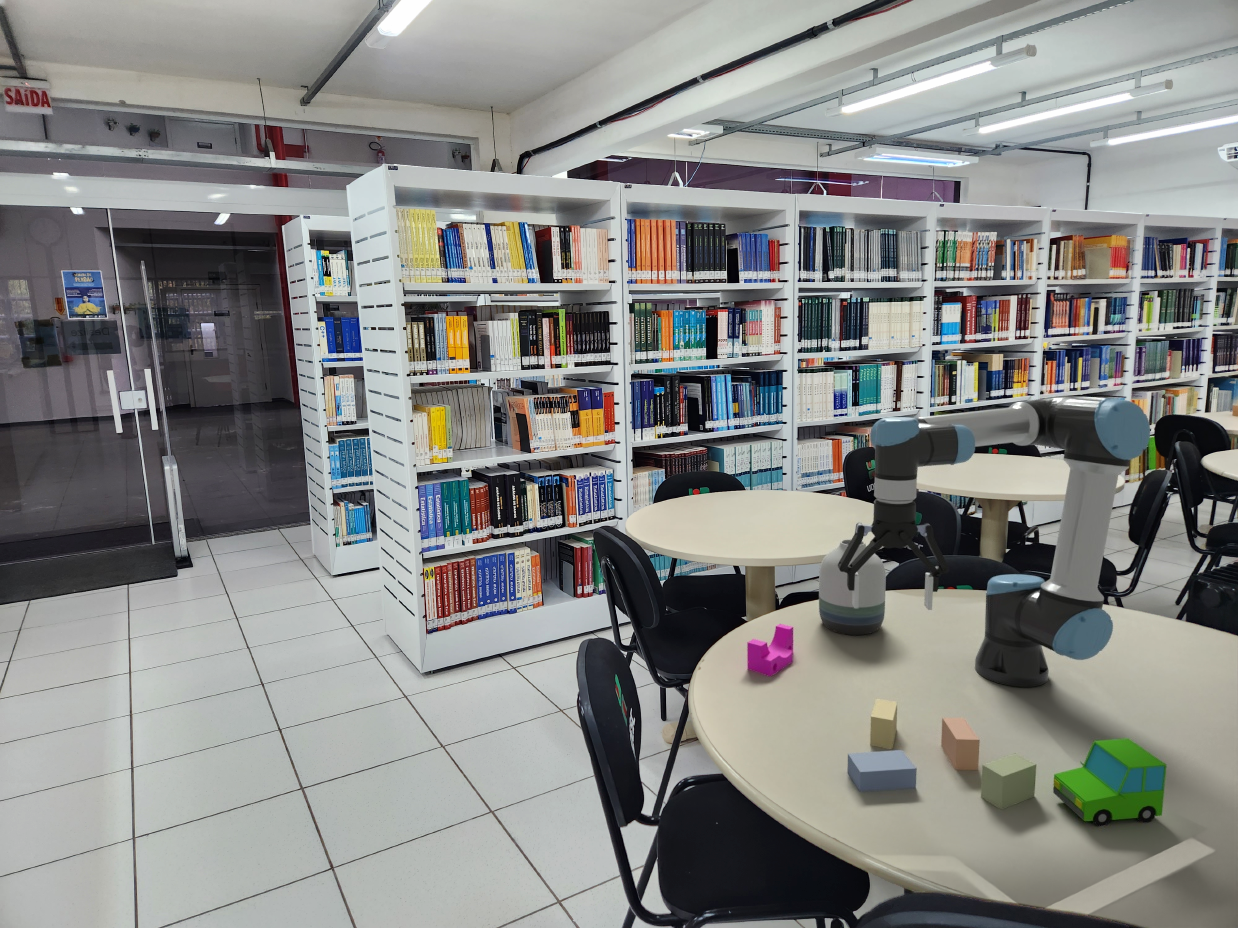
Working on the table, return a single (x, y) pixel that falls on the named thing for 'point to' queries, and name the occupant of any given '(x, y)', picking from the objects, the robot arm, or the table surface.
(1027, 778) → the brick olive
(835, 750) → the table surface
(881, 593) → the vase
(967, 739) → the brick terracotta
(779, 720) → the table surface
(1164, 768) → the toy car
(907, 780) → the brick slate
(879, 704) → the brick ochre
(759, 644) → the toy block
